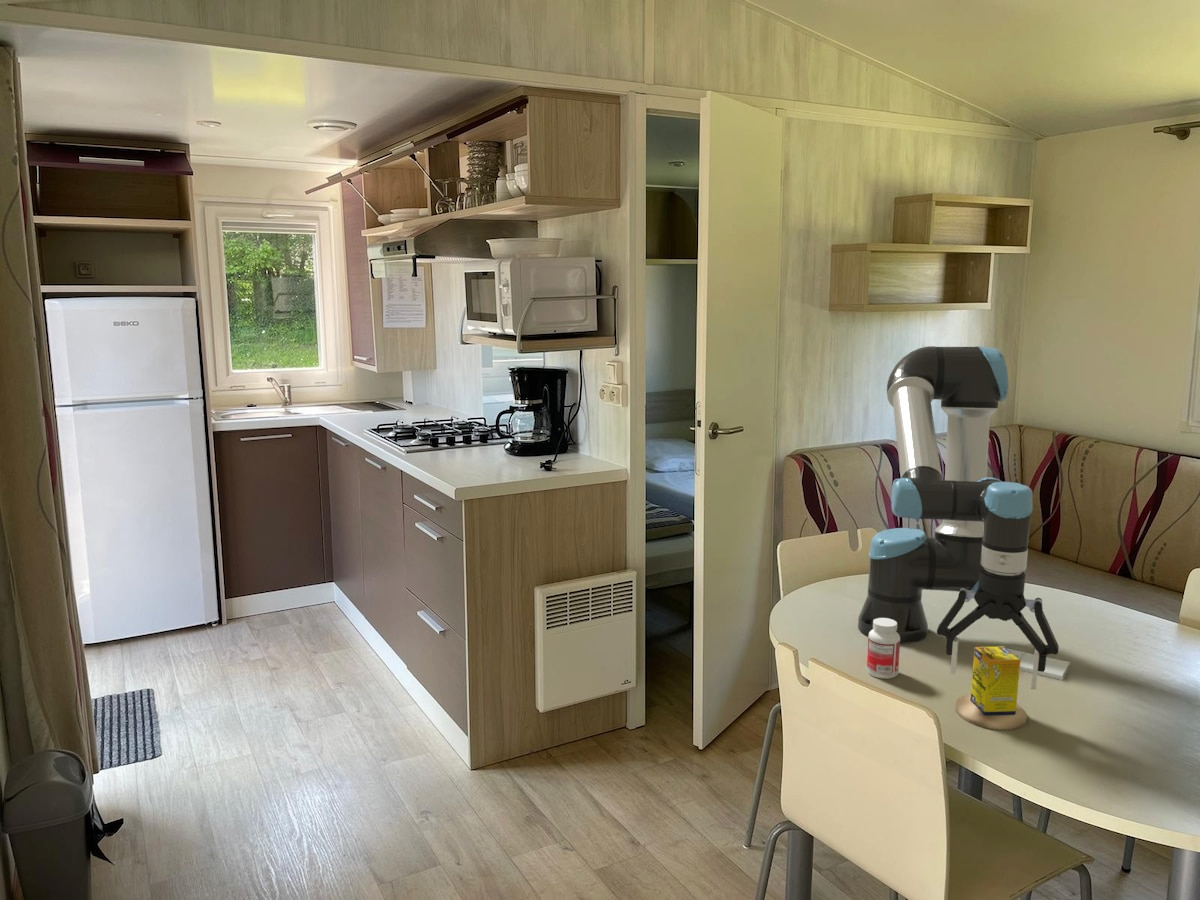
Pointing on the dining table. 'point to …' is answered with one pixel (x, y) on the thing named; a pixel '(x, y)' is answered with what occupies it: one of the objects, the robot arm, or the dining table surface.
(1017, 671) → the supplement box
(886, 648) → the pill bottle
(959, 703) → the disc
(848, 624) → the dining table surface
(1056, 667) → the external hard drive
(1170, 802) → the dining table surface
